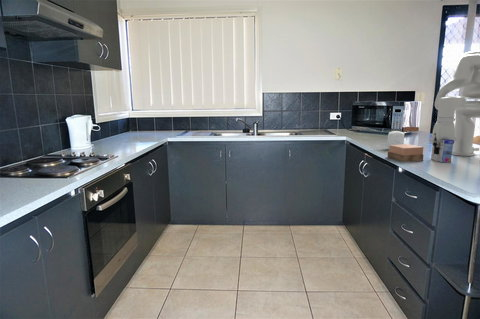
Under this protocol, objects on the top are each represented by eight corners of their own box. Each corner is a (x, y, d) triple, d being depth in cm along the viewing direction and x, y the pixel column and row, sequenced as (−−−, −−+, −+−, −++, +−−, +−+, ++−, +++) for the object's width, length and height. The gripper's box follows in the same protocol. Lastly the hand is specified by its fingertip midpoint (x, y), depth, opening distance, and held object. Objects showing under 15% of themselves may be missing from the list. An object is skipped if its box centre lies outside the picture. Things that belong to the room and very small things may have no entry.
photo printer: (401, 148, 211) (403, 130, 209) (404, 149, 207) (405, 131, 205) (385, 148, 212) (387, 130, 210) (388, 150, 208) (389, 131, 206)
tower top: (407, 150, 184) (407, 144, 183) (422, 154, 172) (423, 147, 171) (389, 151, 182) (389, 145, 181) (403, 155, 170) (404, 148, 169)
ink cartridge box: (452, 162, 166) (455, 135, 163) (441, 162, 166) (444, 135, 163) (440, 158, 176) (442, 133, 173) (430, 159, 176) (432, 133, 173)
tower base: (408, 157, 185) (408, 150, 184) (422, 161, 172) (423, 154, 171) (387, 158, 184) (387, 151, 183) (400, 162, 171) (401, 155, 170)
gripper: (454, 119, 171) (451, 152, 174) (425, 120, 169) (422, 153, 173) (465, 120, 164) (461, 154, 167) (435, 121, 162) (431, 155, 166)
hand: (441, 153), depth 170 cm, fingers closed on ink cartridge box, 5 cm apart
